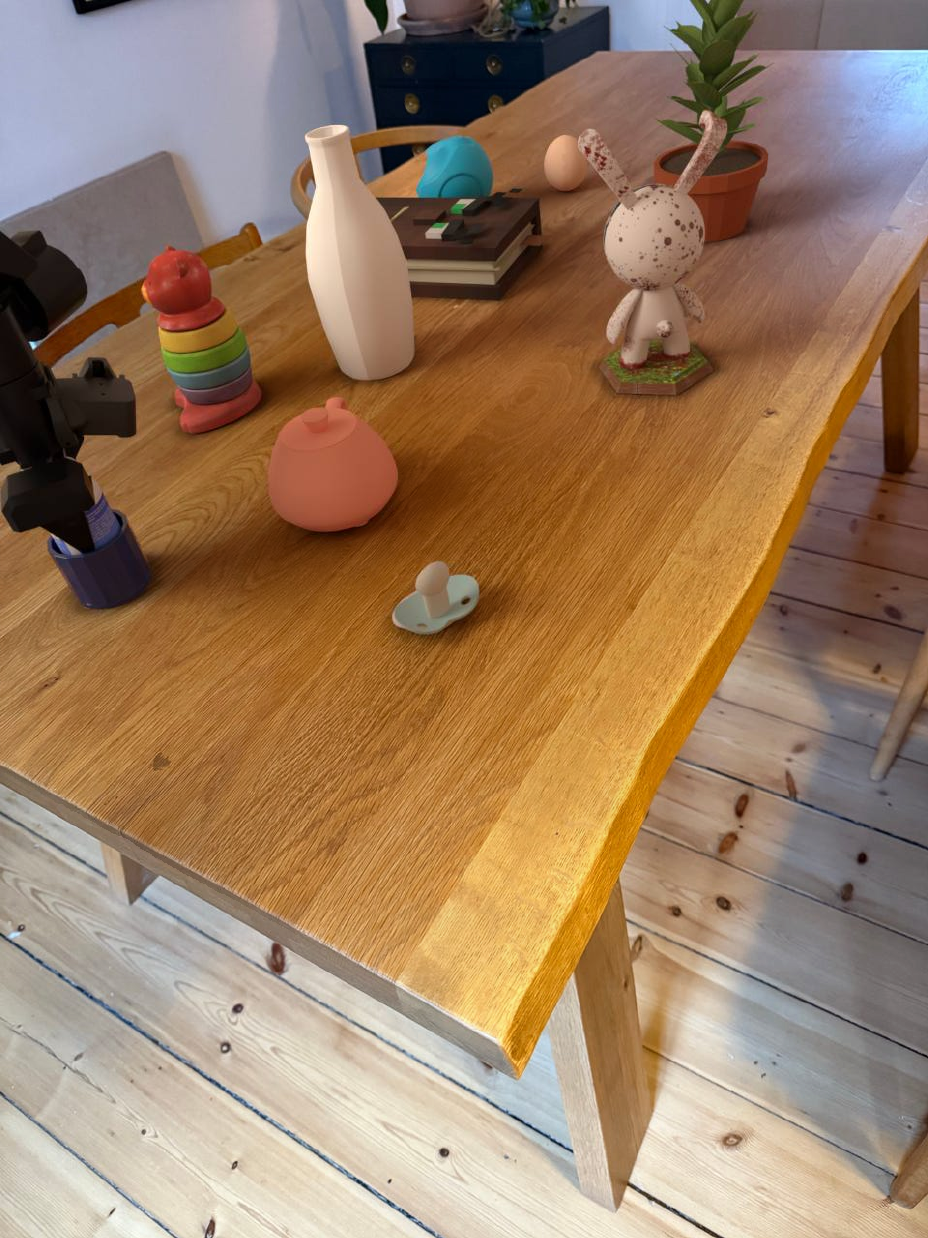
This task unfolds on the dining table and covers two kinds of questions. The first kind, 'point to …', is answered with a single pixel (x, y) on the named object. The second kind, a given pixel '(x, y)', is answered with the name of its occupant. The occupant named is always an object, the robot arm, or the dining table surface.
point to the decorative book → (466, 242)
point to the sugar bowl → (330, 470)
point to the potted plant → (736, 163)
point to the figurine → (654, 269)
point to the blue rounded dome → (456, 170)
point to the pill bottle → (95, 523)
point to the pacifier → (436, 600)
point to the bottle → (356, 265)
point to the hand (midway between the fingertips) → (86, 533)
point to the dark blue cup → (106, 569)
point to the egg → (565, 163)
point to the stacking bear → (199, 343)
